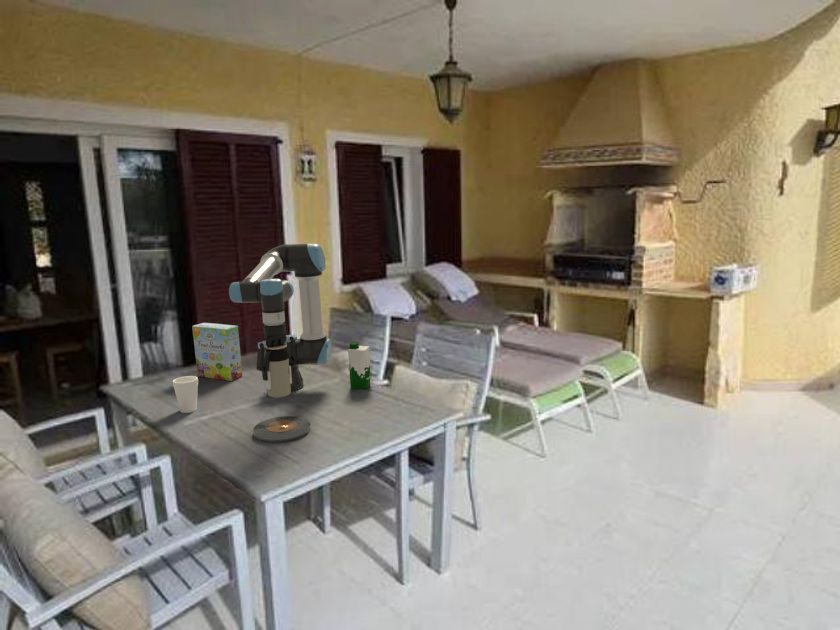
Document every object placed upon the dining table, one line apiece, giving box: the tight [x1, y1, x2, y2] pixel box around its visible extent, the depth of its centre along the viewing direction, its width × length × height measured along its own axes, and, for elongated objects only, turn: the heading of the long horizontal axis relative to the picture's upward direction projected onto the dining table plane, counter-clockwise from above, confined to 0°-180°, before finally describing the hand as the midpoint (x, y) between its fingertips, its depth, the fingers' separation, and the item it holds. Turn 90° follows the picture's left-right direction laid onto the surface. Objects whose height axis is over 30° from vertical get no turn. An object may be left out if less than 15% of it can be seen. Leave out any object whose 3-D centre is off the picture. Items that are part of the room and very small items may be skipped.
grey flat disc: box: [252, 415, 311, 444], centre depth 204 cm, size 20×20×2 cm
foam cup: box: [172, 375, 199, 414], centre depth 227 cm, size 10×9×13 cm
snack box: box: [191, 322, 243, 382], centre depth 270 cm, size 22×9×26 cm, turn 67°
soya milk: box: [347, 342, 371, 390], centre depth 251 cm, size 9×9×20 cm
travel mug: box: [264, 344, 292, 398], centre depth 199 cm, size 8×8×18 cm
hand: (278, 385), depth 201 cm, fingers closed on travel mug, 8 cm apart
